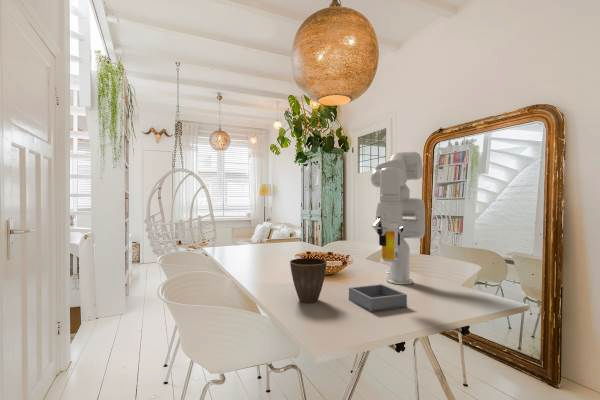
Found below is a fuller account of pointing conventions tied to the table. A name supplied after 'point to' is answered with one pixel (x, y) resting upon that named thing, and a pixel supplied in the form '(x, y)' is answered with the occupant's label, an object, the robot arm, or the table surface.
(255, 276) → the table surface
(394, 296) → the box
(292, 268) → the plant pot
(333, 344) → the table surface
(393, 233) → the beer can
